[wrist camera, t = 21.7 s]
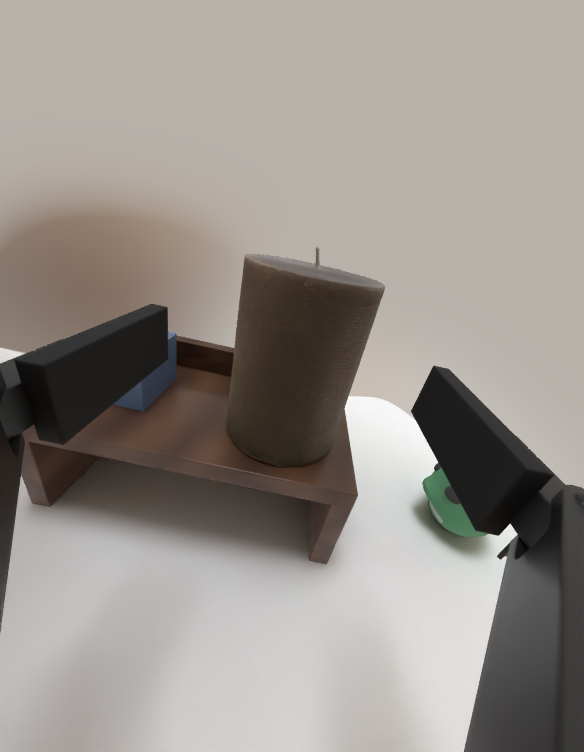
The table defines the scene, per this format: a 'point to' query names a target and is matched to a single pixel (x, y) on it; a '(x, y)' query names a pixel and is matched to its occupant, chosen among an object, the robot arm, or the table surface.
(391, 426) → the table surface
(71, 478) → the shelf
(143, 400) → the slate box
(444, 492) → the alien toy
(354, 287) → the pillar candle
